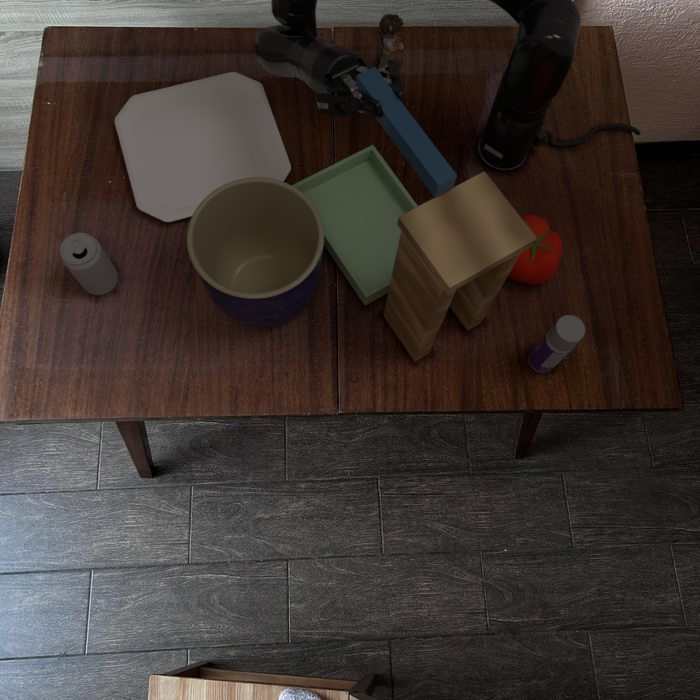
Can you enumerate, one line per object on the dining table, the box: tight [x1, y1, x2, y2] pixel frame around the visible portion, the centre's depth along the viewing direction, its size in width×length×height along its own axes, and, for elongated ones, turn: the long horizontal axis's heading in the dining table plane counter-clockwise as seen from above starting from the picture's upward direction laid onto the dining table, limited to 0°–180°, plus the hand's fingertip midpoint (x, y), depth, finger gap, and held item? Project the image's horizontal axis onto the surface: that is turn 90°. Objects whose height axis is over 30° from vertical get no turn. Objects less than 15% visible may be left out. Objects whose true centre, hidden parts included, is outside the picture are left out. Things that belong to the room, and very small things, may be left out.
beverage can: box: [59, 232, 119, 296], centre depth 116 cm, size 6×6×12 cm
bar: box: [356, 67, 458, 198], centre depth 93 cm, size 3×20×3 cm, turn 32°
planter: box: [186, 177, 325, 328], centre depth 113 cm, size 21×21×19 cm
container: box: [527, 314, 586, 374], centre depth 112 cm, size 5×5×15 cm
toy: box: [376, 3, 406, 69], centre depth 132 cm, size 6×6×15 cm
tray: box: [292, 144, 419, 306], centre depth 125 cm, size 18×26×4 cm
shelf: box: [383, 170, 537, 362], centre depth 106 cm, size 14×12×32 cm
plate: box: [114, 71, 292, 224], centre depth 130 cm, size 29×29×2 cm
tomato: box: [507, 213, 563, 286], centre depth 122 cm, size 13×12×8 cm
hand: (391, 105), depth 93 cm, fingers closed on bar, 3 cm apart
